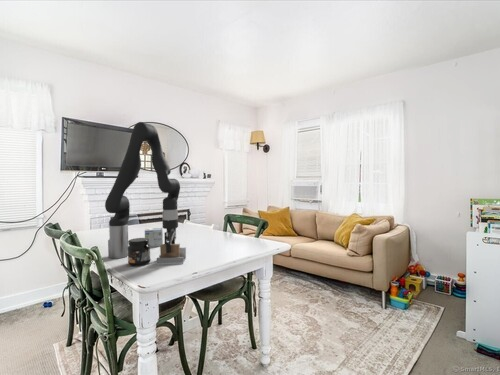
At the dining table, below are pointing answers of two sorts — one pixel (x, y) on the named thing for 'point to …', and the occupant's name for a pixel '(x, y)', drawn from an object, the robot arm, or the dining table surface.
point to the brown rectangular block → (174, 251)
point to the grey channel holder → (173, 258)
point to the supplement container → (138, 252)
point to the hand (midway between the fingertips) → (170, 250)
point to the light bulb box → (154, 236)
